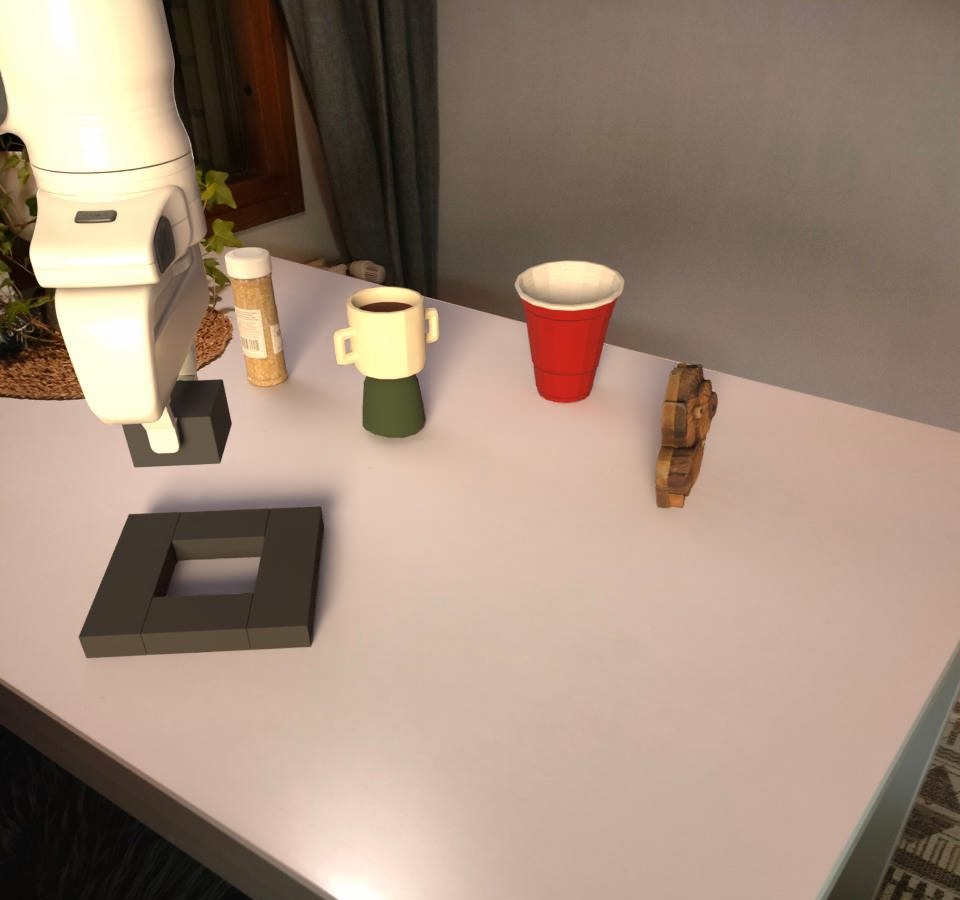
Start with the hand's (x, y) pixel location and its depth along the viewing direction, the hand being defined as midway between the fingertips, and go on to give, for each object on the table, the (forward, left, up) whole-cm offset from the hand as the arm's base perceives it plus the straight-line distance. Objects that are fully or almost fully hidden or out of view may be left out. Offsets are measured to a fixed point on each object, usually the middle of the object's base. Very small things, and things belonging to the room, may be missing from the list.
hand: (178, 423), depth 63 cm
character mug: (+14, +25, -14) cm, 32 cm away
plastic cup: (+32, +32, -14) cm, 47 cm away
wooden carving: (+40, +13, -14) cm, 44 cm away
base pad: (0, 0, -14) cm, 14 cm away
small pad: (0, 0, -2) cm, 2 cm away
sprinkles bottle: (0, +38, -14) cm, 41 cm away
